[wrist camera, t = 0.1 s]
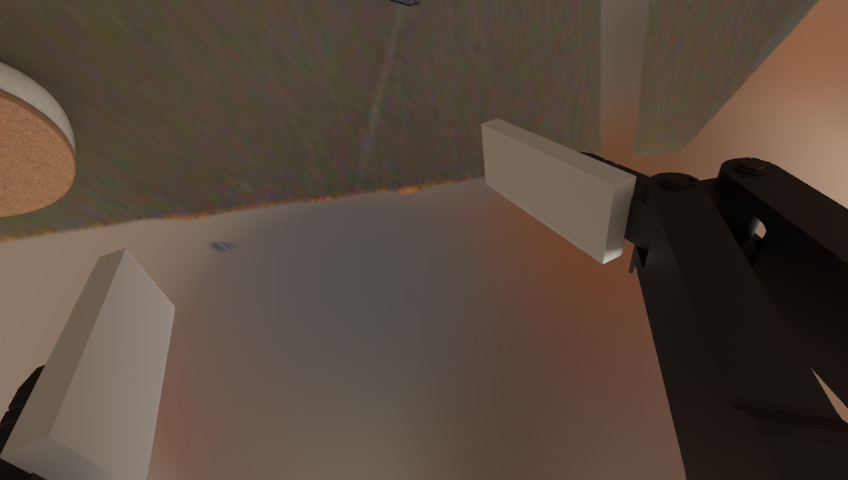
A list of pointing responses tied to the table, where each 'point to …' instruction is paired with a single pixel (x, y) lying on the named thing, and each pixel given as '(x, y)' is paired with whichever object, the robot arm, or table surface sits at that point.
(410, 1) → the dark navy book
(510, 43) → the table surface
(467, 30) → the table surface
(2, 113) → the lidded jar
